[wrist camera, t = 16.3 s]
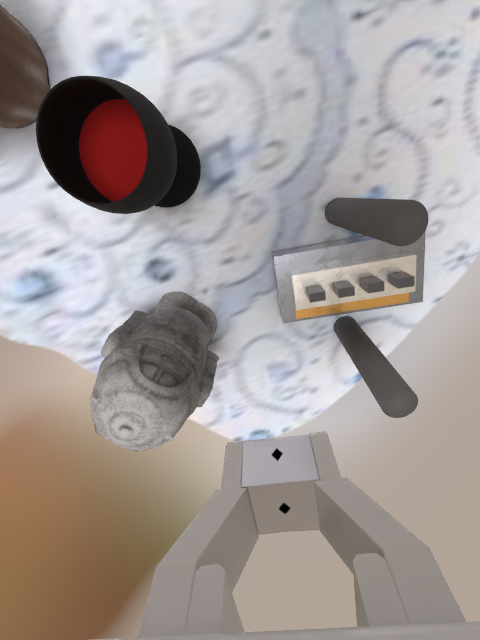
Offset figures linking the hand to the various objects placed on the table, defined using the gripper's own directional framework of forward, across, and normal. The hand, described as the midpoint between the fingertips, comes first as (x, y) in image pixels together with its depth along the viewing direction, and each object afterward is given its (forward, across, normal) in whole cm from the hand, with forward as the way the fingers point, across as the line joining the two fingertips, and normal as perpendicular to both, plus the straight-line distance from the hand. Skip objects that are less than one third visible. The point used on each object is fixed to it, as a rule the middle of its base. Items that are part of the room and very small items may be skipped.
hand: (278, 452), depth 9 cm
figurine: (+39, +14, +10) cm, 43 cm away
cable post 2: (+39, -12, +15) cm, 44 cm away
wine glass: (+39, +11, -13) cm, 43 cm away
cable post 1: (+39, -12, -3) cm, 41 cm away
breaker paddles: (+33, -12, +6) cm, 36 cm away
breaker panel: (+39, -12, +6) cm, 41 cm away
